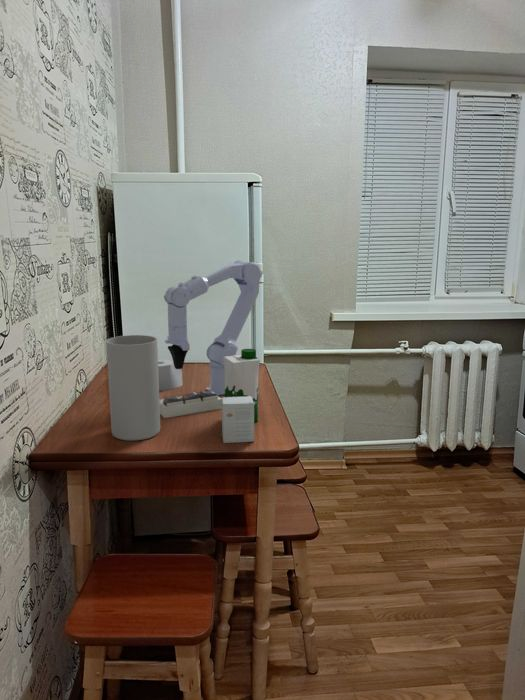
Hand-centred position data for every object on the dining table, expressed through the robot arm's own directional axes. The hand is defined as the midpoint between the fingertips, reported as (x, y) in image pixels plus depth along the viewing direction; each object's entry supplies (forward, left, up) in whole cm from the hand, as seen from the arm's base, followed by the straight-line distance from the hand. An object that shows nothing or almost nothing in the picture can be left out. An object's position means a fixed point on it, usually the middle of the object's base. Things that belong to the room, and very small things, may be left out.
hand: (178, 368), depth 162 cm
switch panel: (-1, +11, -10) cm, 15 cm away
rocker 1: (+6, +13, -6) cm, 15 cm away
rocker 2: (+1, +13, -6) cm, 14 cm away
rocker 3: (-4, +13, -6) cm, 15 cm away
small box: (-2, +38, -10) cm, 39 cm away
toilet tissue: (0, -15, -10) cm, 18 cm away
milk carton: (-9, +26, -10) cm, 29 cm away
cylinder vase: (+20, +22, -10) cm, 31 cm away
